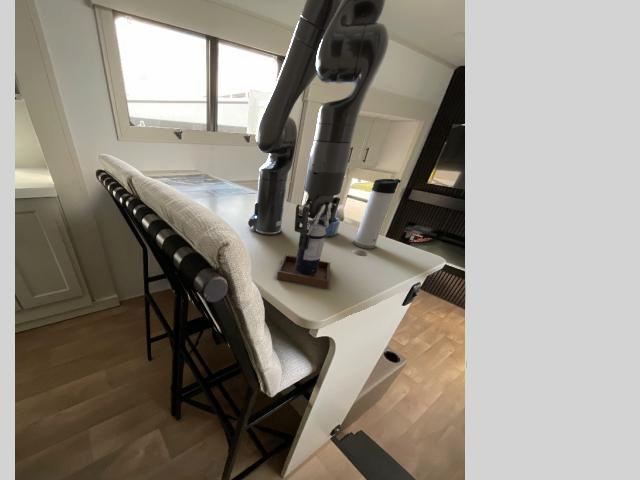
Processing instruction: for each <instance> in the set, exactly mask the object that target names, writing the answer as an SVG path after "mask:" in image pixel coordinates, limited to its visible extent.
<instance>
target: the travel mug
mask: <svg viewBox="0 0 640 480" xmlns="http://www.w3.org/2000/svg"><path fill="white" fill-rule="evenodd" d="M401 181H402V180H401V179H400V178H379V179H375V180H374V182H373V183H372V184H373V185H372V187H371V190H370V193H369V195H368V196H369V197H368V199H367V202H366V206H365V207H364V208H365V209H364V211H363V214H362V217H361V221H360V224H359V226H358V229H357V230H358V231H357V234H356V236H355V239H354V242H353V243H354V245H355V246H357V247H358V248H362V249H367V250H368V249H369V250H371V249H373V248H375V247H376V244H377V241H378V238H379V236H380V234H381V231H382V228H383V226H384V223H385V220H386V218H387V215H388V213H389V209H390V208H391V205H392V202H393V200H394V197H395V195H396V191H397V188H398V185H399V184H400V183H401Z"/></svg>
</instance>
